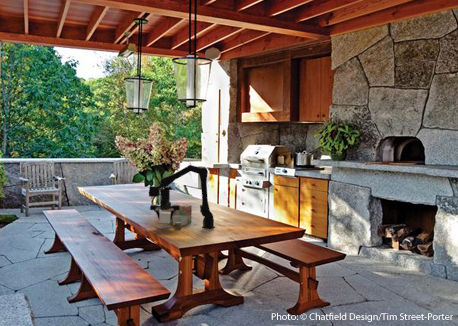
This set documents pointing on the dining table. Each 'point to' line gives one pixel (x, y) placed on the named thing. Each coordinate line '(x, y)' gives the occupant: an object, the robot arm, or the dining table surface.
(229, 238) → the dining table surface
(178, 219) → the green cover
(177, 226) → the letter cube
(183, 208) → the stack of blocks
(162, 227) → the slate pad
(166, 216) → the white cover
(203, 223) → the robot arm
